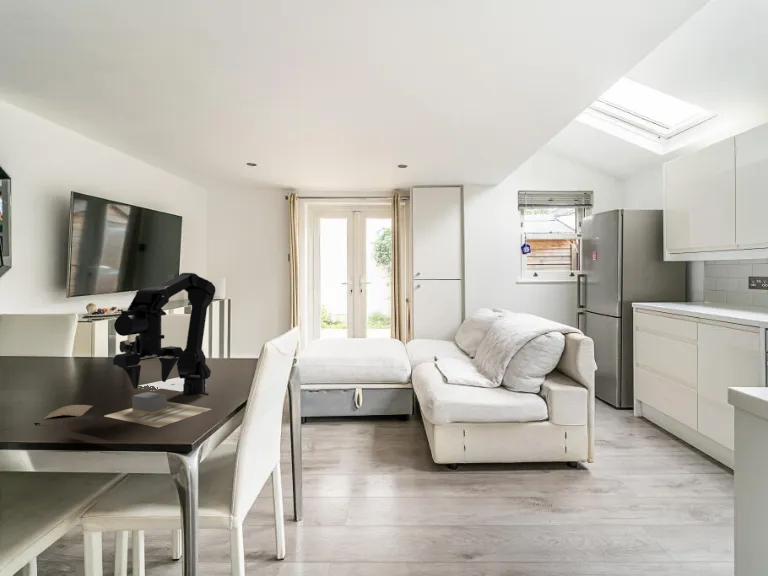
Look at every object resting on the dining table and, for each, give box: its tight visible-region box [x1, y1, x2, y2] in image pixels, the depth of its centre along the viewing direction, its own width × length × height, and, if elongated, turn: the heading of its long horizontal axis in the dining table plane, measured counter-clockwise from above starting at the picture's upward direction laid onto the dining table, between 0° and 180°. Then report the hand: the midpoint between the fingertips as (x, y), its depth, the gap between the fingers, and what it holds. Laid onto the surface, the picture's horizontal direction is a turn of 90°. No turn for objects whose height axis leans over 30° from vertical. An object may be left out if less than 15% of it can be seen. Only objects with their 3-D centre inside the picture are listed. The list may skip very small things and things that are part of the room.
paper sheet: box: [138, 376, 207, 392], centre depth 155 cm, size 24×29×1 cm
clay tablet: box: [43, 404, 94, 420], centre depth 122 cm, size 14×10×3 cm
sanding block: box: [131, 391, 168, 415], centre depth 125 cm, size 5×8×4 cm, turn 66°
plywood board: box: [104, 401, 213, 428], centre depth 123 cm, size 18×22×1 cm
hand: (150, 385), depth 125 cm, fingers open, 9 cm apart
